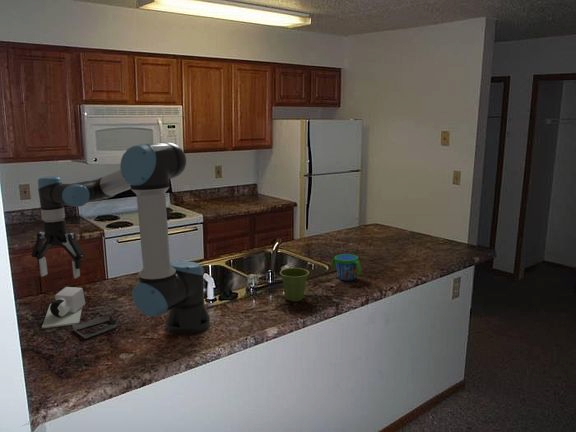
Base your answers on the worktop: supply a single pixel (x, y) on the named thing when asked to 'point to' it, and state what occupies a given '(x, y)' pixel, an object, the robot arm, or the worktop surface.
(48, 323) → the rubber mat
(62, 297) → the medicine bottle
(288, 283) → the plant pot
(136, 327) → the worktop surface
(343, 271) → the snack cup
